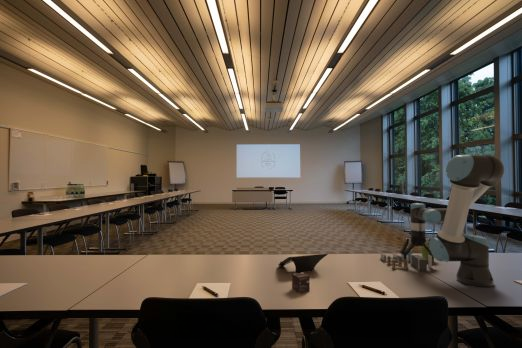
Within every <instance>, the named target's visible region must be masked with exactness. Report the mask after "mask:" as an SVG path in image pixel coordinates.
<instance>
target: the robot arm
mask: <svg viewBox="0 0 522 348" xmlns="http://www.w3.org/2000/svg"><path fill="white" fill-rule="evenodd" d="M445 172H446V177H447V178H448V179H449V183H450V184H451V190H450V194H449V198H448V203H447V205H446V206H447V207H446V208H441V207H440V208H426V204H425V203H421V202H420V203H419V202H414V203H411V204H410V238H408V237H405V238H404V243H403V245H402V247H401V248H402V249H400V251H399V253H400V255H401V254H402V255H403V258H404V259H406V260H407V268H409V262H408V255H407V254H408V253H409V252H410V251H411V250H413V248H414V247H420V246H423V247H424V248H425V249H426V251H427V252H428V253H429V254H430V255H428V262H427V263H428V264H427V267H428V268H430V269H433V263H434V262H433V257H434V260H436V261H438V262H446V263H448V262H460V263H459V266H458V270H457V272H456V275H455V276H456V280H457V281H458V282H460V283H461V284H465V285H467V286H472V287H473V286H474V287H481V288H483V287H484V288H490V287H494V281H495V280H494V277H493V275H492V273H491V271H490V265H489V263H490V260H489V259H490V258H489V257H490V255H489V253H490V245H489V240H488V239H487V238H486V237H484V236H480V235H474V234H469V233H463V232H464V231H465V226H466V223H467V219H468V215H469V210H470V207H471V206H473V204H474V203H476V201H478V199H479V198H481V197H482V196H483V194H484V193H486V191H487V190H489V189H490V188H493V187H495V186H496V185H497V184H498V183H499V182H500V181H501V180H502V178H503V177H504V174H505V166H504V163H503V162H502V161H501V160H500V158H498V157H496V156H494V155H491V154H460V155H459V154H457V155H454V156H453V157H452V158H450V160H449V161H448V163H447V164H446V168H445ZM426 223H428V224H437V223H443V224H442V228H441V229H440V230H438V231H437V234H436V237H435V236H433V237H431V238H429V237H426ZM426 242H427V244H426ZM409 243H410V244H409ZM426 245H427V246H429V247H430V250H429V248H428V247H427V246H426ZM407 247H408V248H407ZM406 248H407V249H406Z"/></svg>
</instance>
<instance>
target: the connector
mask: <svg viewBox="0 0 522 348" xmlns="http://www.w3.org/2000/svg"><path fill="white" fill-rule="evenodd" d="M408 247H409V246H407V248H408ZM407 248H406V249H407ZM401 249H402V247H401ZM401 249H400V250H401ZM411 254H414V253H413V249H411V251H410V252H409V253H408V254H407V255H408V263H409V262H410V263H411ZM400 256H401V257H402V262H404V258H403V255H402V254H401V253H400Z"/></svg>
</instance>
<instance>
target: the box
mask: <svg viewBox="0 0 522 348" xmlns="http://www.w3.org/2000/svg"><path fill="white" fill-rule="evenodd" d="M291 289H292V290H293V291H294V292H296V293H297V294H304V293H309V292H310V275H308V274H307V273H305V272H300V273H296V272H294V273H292V274H291Z"/></svg>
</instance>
